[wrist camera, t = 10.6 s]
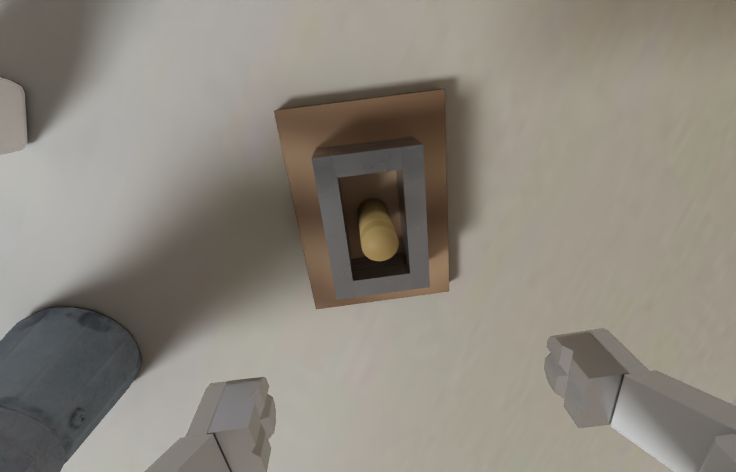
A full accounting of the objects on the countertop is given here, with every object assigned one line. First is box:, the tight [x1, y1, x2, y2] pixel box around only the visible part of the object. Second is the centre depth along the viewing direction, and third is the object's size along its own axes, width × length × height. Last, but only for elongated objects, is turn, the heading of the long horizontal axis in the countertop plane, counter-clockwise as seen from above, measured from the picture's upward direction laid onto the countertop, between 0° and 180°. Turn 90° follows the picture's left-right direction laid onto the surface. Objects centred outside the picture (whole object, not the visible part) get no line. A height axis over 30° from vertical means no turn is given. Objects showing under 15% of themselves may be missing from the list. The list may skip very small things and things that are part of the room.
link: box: [312, 136, 430, 300], centre depth 22 cm, size 9×6×3 cm, turn 6°
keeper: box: [274, 89, 449, 309], centre depth 22 cm, size 14×10×6 cm
